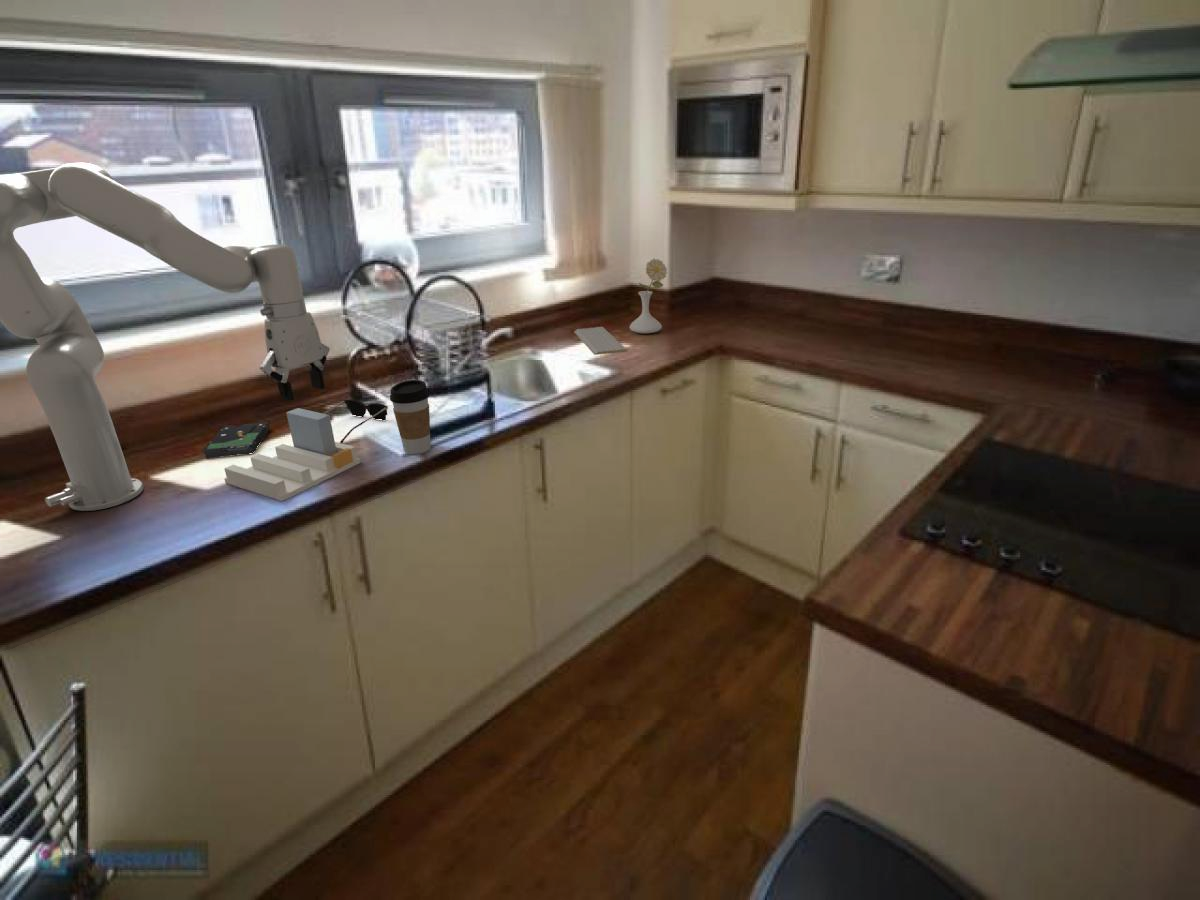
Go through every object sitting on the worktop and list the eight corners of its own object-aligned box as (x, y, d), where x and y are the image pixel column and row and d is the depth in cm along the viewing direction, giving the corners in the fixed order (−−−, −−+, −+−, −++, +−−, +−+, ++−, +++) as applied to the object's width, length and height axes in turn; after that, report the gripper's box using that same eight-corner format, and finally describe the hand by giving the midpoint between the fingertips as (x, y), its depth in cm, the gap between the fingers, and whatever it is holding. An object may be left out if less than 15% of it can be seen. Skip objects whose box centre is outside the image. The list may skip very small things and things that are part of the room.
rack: (282, 501, 137) (277, 482, 136) (225, 482, 146) (220, 465, 144) (361, 462, 153) (358, 445, 152) (305, 447, 162) (302, 431, 160)
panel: (326, 463, 150) (317, 419, 146) (295, 455, 155) (286, 412, 151) (338, 458, 152) (329, 415, 148) (307, 450, 157) (298, 408, 153)
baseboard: (589, 357, 224) (626, 353, 226) (589, 348, 223) (625, 344, 225) (569, 333, 251) (602, 330, 254) (569, 325, 250) (602, 322, 253)
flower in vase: (631, 336, 242) (630, 262, 232) (627, 328, 253) (626, 257, 243) (669, 334, 243) (669, 260, 233) (663, 326, 254) (664, 255, 244)
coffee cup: (443, 443, 161) (435, 380, 155) (424, 458, 154) (414, 393, 148) (411, 440, 164) (401, 378, 158) (390, 454, 157) (380, 390, 150)
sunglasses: (391, 423, 175) (387, 404, 173) (345, 451, 163) (340, 431, 160) (349, 416, 181) (345, 398, 179) (301, 442, 168) (296, 423, 166)
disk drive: (226, 436, 172) (205, 460, 158) (223, 425, 170) (202, 448, 157) (271, 432, 173) (254, 455, 160) (268, 421, 172) (251, 444, 159)
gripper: (259, 320, 132) (279, 409, 139) (333, 302, 146) (348, 384, 153) (234, 317, 136) (255, 404, 143) (309, 299, 149) (324, 379, 157)
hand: (303, 393), depth 148 cm, fingers open, 7 cm apart
